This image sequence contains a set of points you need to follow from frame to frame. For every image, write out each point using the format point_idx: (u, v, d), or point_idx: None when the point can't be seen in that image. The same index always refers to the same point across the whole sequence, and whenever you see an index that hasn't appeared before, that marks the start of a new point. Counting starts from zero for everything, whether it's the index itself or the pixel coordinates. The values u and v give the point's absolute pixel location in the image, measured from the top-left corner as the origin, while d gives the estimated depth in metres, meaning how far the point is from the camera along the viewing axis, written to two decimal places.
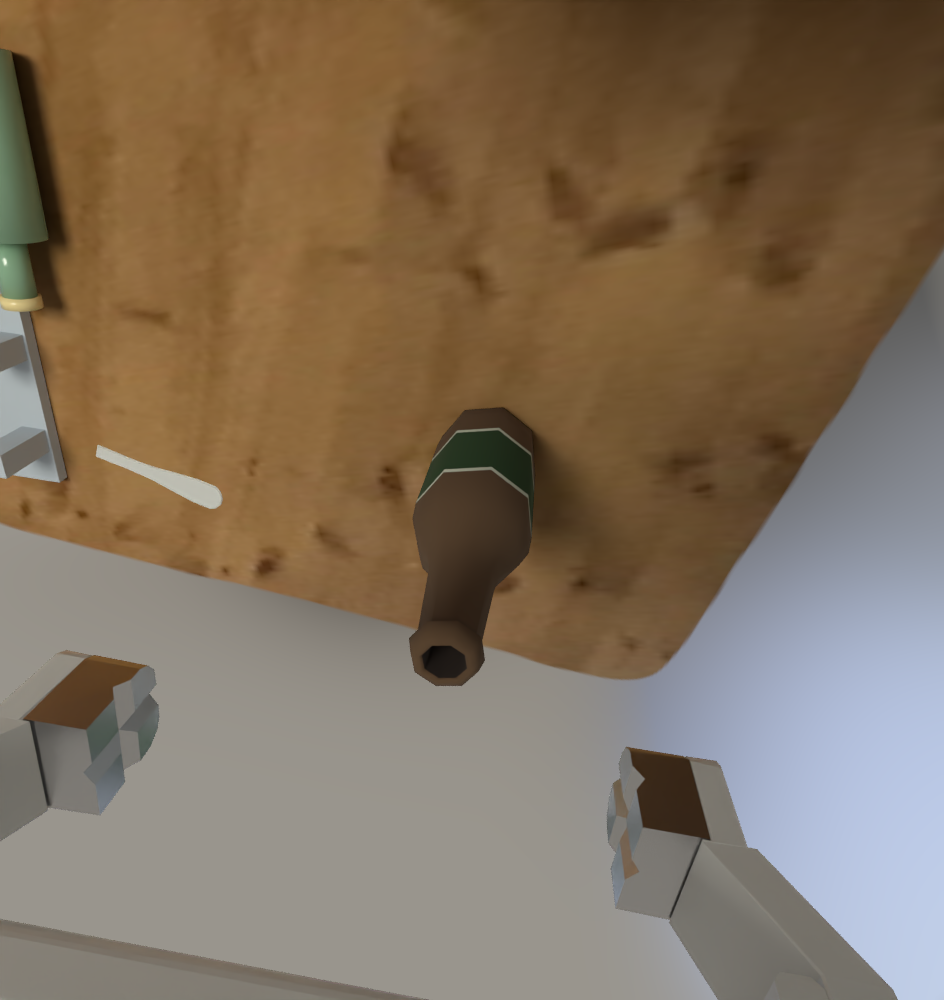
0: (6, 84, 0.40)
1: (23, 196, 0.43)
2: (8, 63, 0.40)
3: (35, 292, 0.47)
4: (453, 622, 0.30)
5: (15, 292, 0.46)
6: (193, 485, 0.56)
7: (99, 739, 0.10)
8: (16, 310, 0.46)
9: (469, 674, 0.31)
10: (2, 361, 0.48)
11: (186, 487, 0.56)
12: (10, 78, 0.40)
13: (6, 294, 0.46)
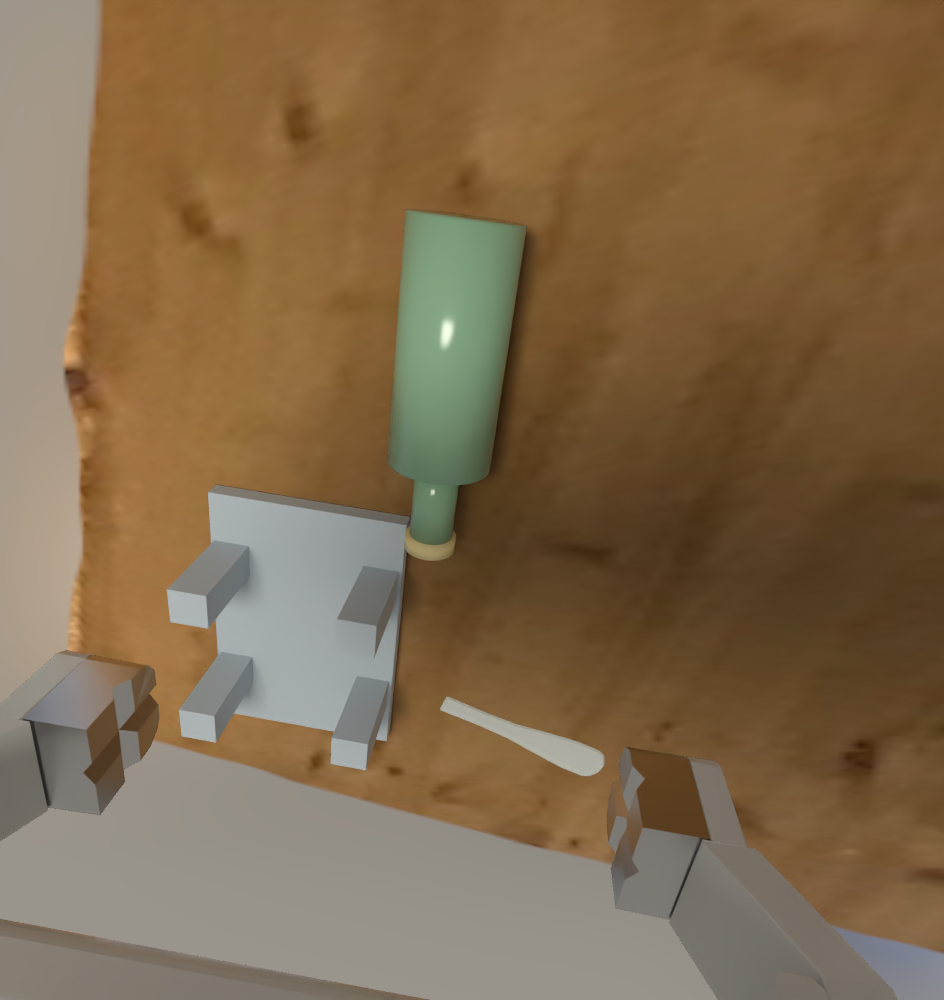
0: (519, 273, 0.27)
1: (495, 417, 0.29)
2: None
3: None
4: None
5: (438, 536, 0.32)
6: (568, 749, 0.42)
7: (99, 739, 0.10)
8: (434, 559, 0.32)
9: None
10: (386, 617, 0.34)
11: (557, 751, 0.42)
12: None
13: (425, 539, 0.32)
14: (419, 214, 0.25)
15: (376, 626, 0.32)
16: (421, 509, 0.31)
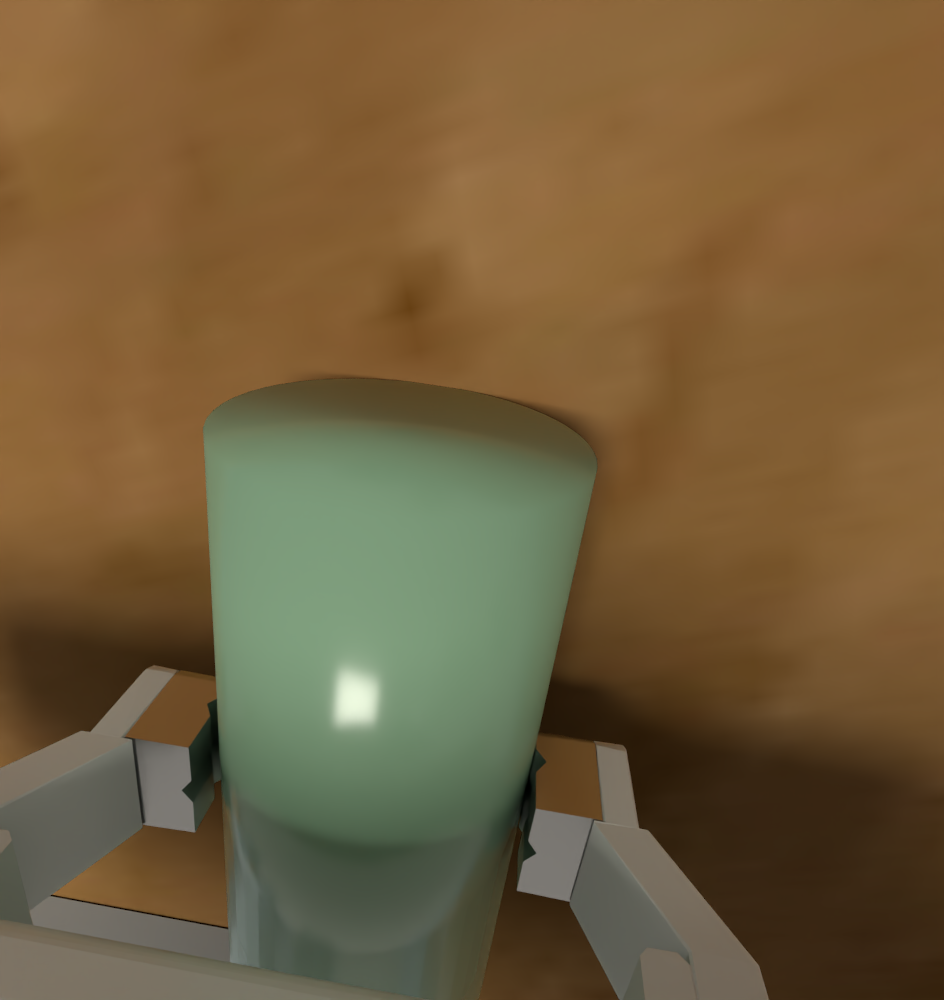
0: None
1: None
2: None
3: None
4: None
5: None
6: None
7: (197, 756, 0.10)
8: None
9: None
10: None
11: None
12: None
13: None
14: (228, 464, 0.07)
15: None
16: None
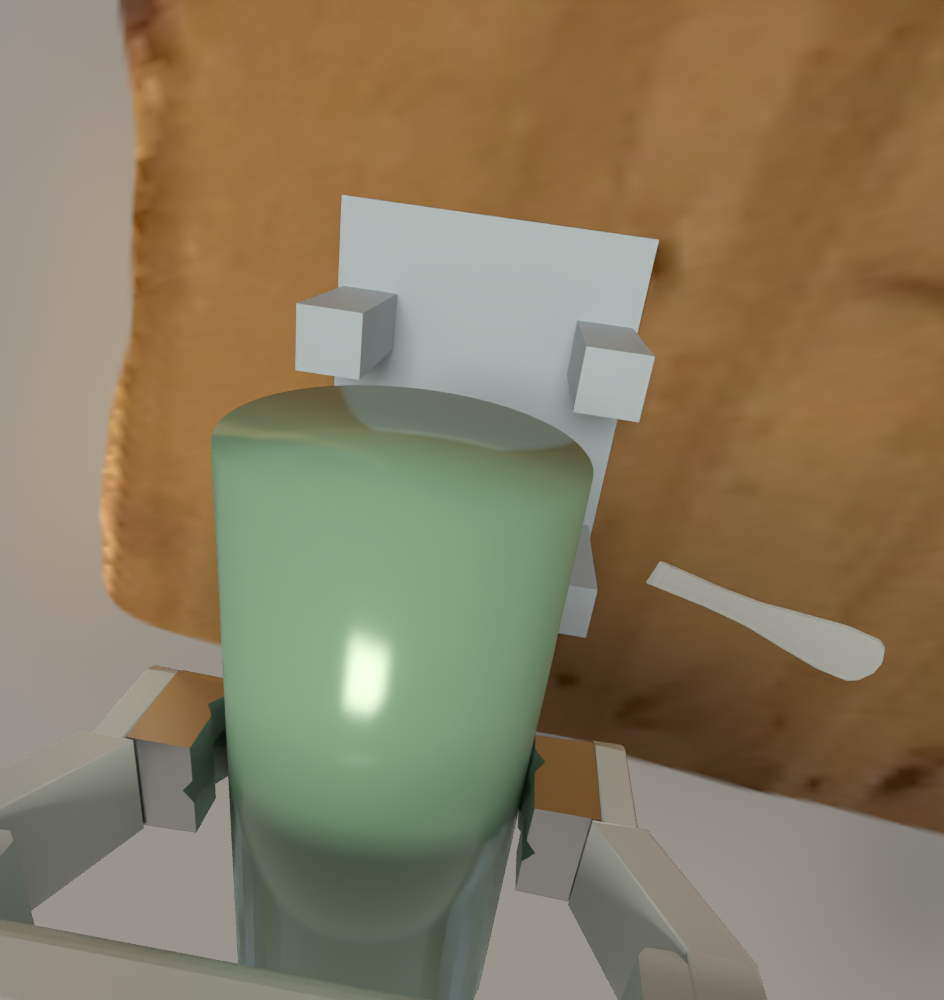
0: None
1: (499, 894, 0.12)
2: None
3: None
4: None
5: None
6: (833, 638, 0.29)
7: (198, 756, 0.10)
8: None
9: None
10: None
11: (816, 642, 0.29)
12: None
13: None
14: (236, 475, 0.07)
15: (653, 358, 0.19)
16: None
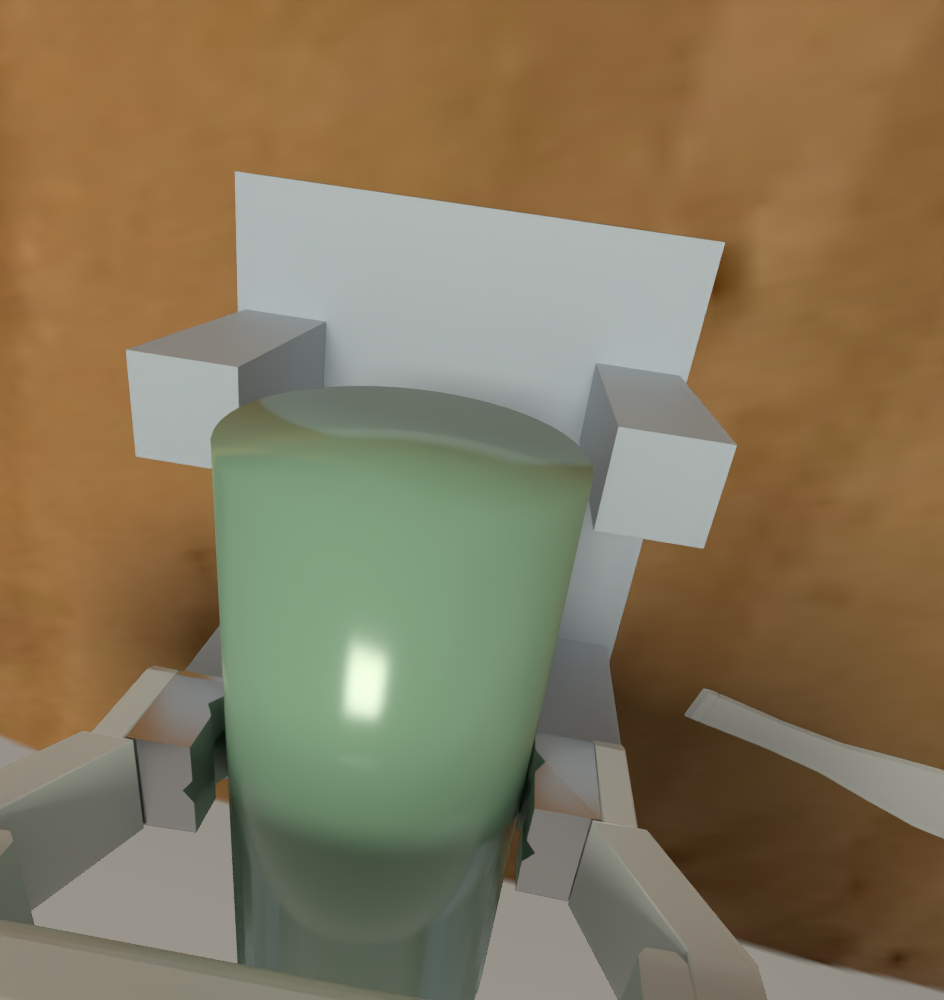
0: None
1: (499, 895, 0.12)
2: None
3: None
4: None
5: None
6: (940, 791, 0.21)
7: (198, 757, 0.10)
8: None
9: None
10: None
11: (916, 795, 0.21)
12: None
13: None
14: (235, 476, 0.07)
15: (733, 447, 0.11)
16: None
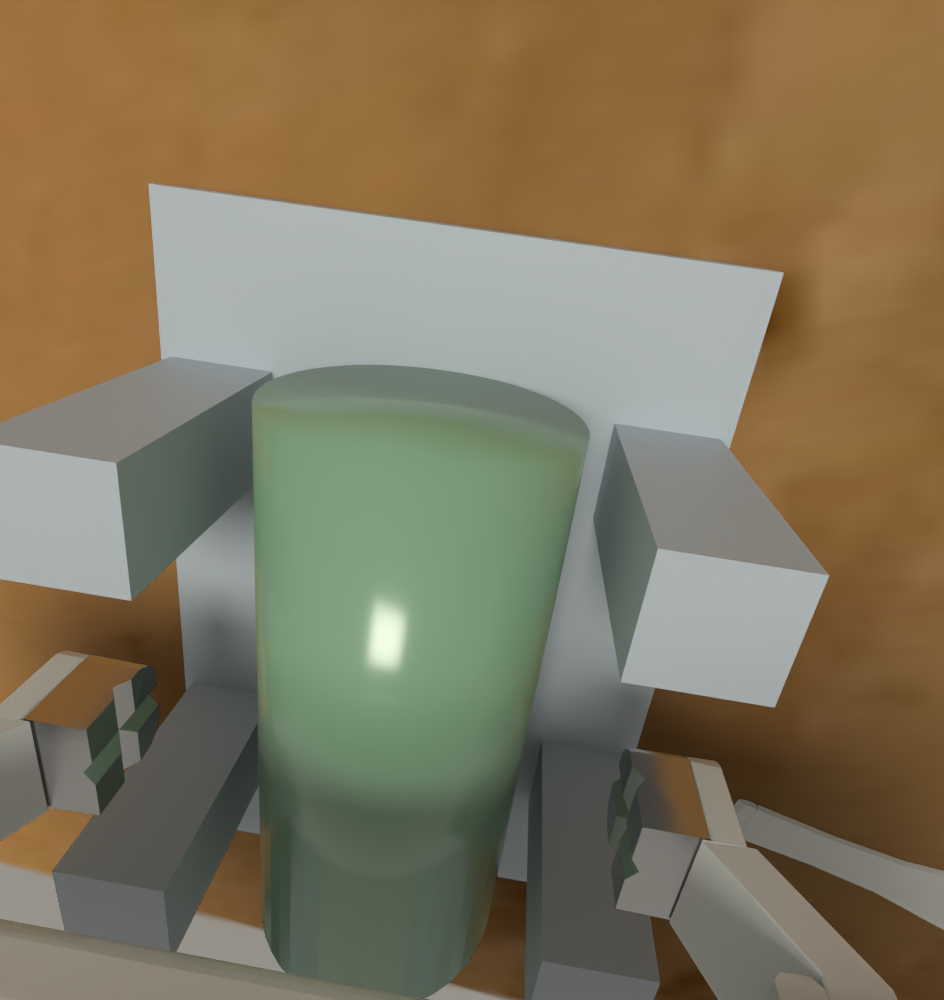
0: (566, 543, 0.10)
1: (504, 837, 0.12)
2: None
3: None
4: None
5: None
6: None
7: (99, 739, 0.10)
8: None
9: None
10: None
11: None
12: None
13: None
14: (276, 430, 0.08)
15: (823, 578, 0.08)
16: None
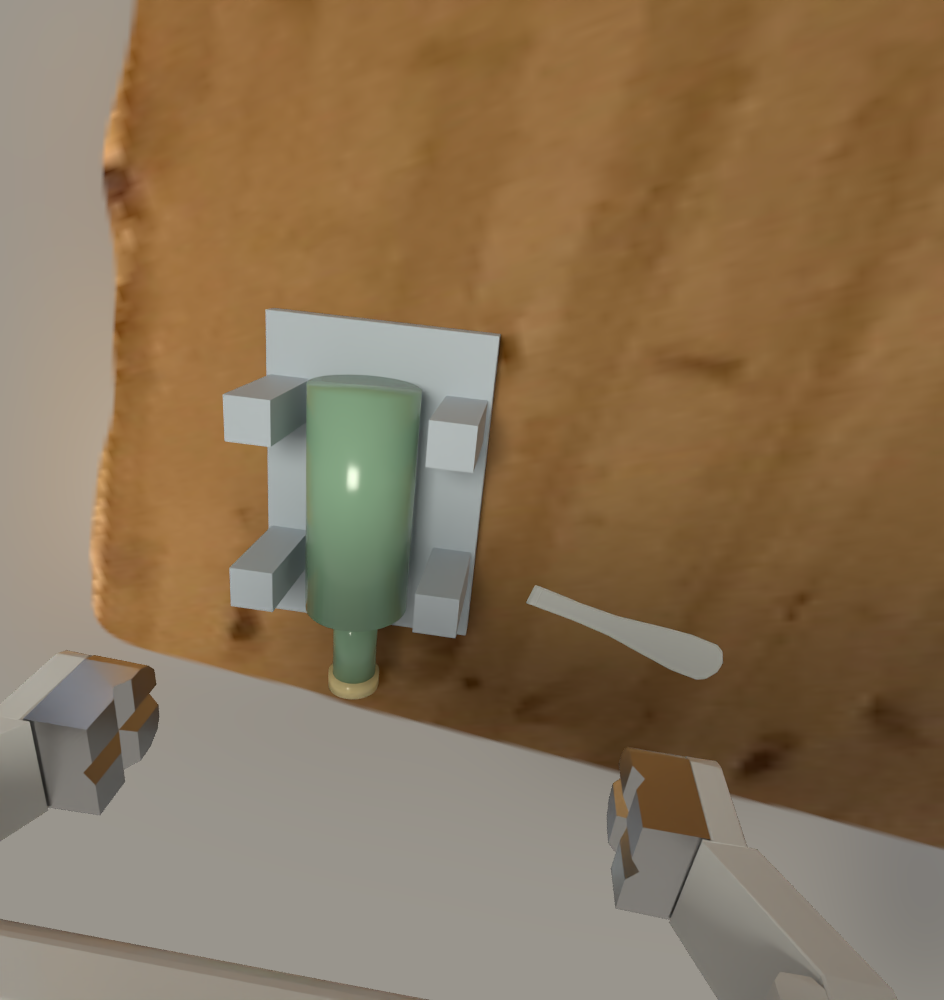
0: (417, 434, 0.29)
1: (404, 564, 0.31)
2: (420, 406, 0.29)
3: (375, 666, 0.34)
4: None
5: (358, 675, 0.33)
6: (680, 643, 0.35)
7: (99, 739, 0.10)
8: (355, 697, 0.33)
9: None
10: (480, 441, 0.29)
11: (667, 647, 0.35)
12: (419, 424, 0.29)
13: (345, 678, 0.33)
14: (314, 390, 0.27)
15: (477, 427, 0.26)
16: (339, 649, 0.32)
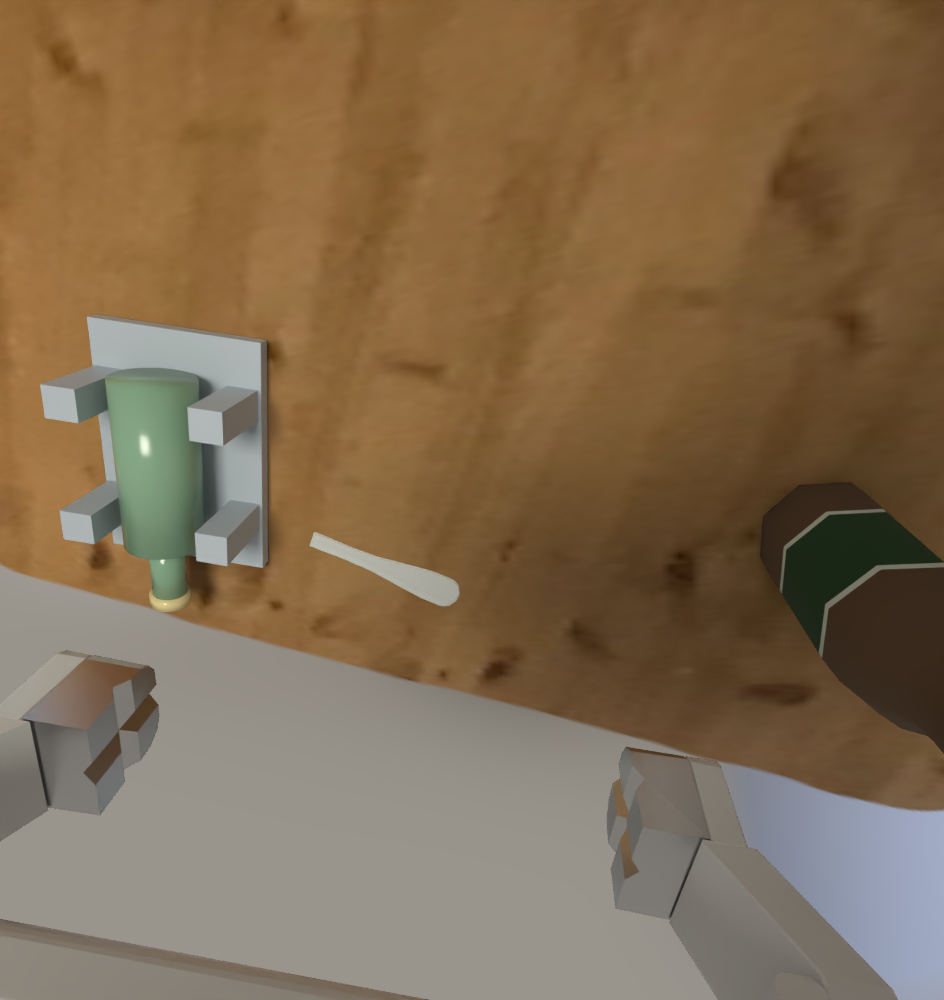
0: None
1: (192, 511, 0.41)
2: (196, 394, 0.39)
3: (186, 588, 0.45)
4: None
5: (168, 593, 0.44)
6: (426, 578, 0.46)
7: (99, 739, 0.10)
8: (166, 610, 0.44)
9: None
10: (241, 422, 0.39)
11: (417, 581, 0.46)
12: None
13: (158, 595, 0.44)
14: (107, 381, 0.37)
15: (222, 413, 0.36)
16: (152, 574, 0.43)
